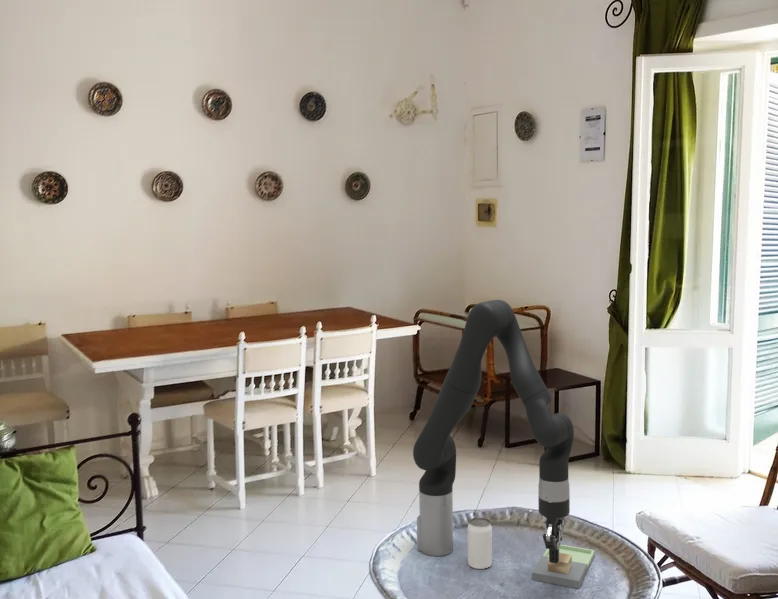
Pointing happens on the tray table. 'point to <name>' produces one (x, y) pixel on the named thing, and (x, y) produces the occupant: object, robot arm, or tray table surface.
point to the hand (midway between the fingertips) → (554, 561)
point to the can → (479, 543)
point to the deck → (560, 574)
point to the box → (576, 554)
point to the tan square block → (561, 564)
